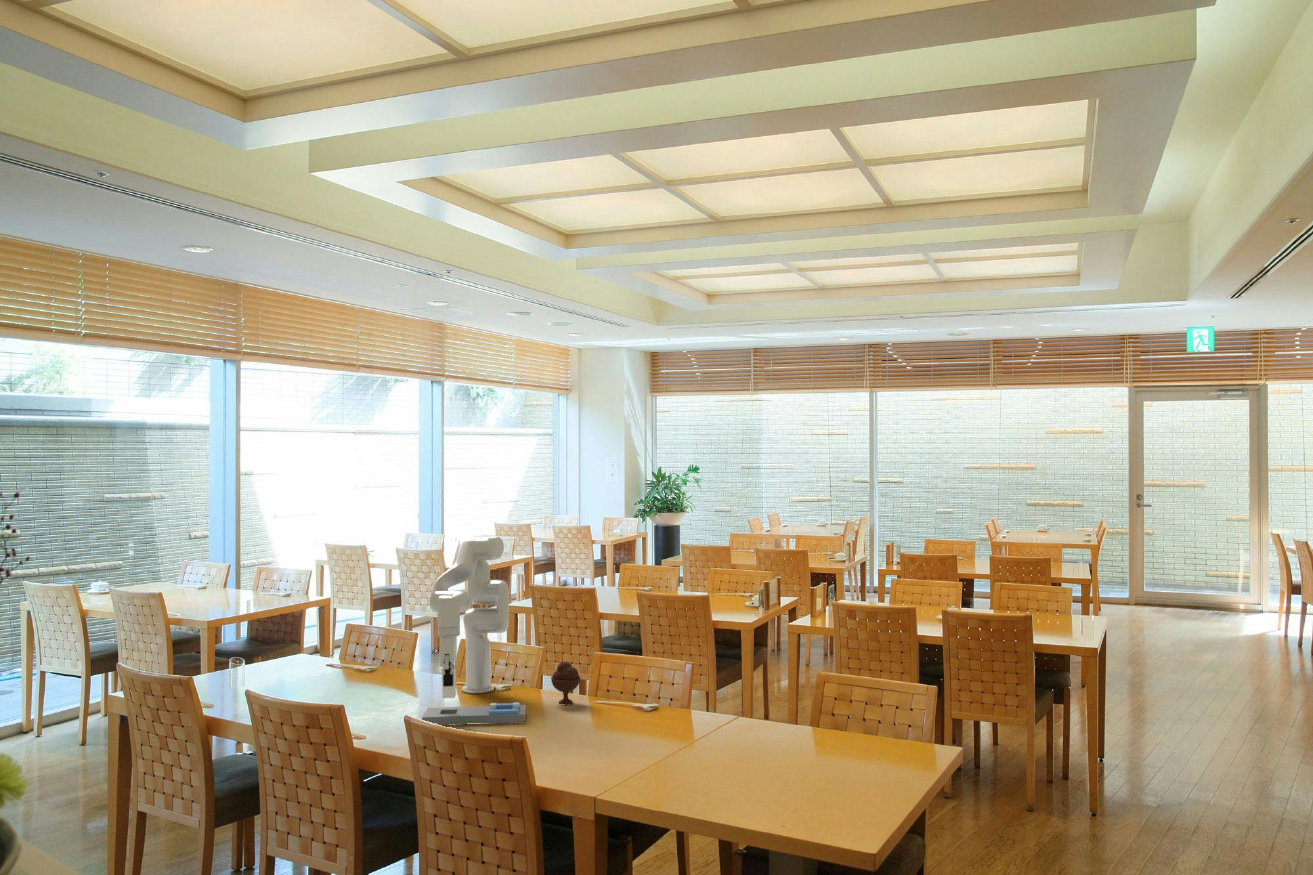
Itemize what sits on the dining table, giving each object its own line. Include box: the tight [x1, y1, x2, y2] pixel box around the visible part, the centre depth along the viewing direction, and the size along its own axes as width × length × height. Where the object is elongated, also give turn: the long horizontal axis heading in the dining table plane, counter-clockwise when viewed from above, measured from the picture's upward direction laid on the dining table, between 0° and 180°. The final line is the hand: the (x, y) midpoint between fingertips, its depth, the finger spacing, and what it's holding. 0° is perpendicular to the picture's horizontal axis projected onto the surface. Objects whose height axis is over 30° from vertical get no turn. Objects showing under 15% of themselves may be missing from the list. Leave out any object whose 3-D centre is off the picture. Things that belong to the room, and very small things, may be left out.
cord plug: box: [441, 664, 457, 699], centre depth 319 cm, size 4×4×12 cm
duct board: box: [421, 701, 527, 726], centre depth 319 cm, size 12×34×5 cm, turn 95°
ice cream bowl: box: [550, 661, 581, 705], centre depth 340 cm, size 11×11×15 cm
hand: (449, 683), depth 319 cm, fingers closed on cord plug, 4 cm apart
